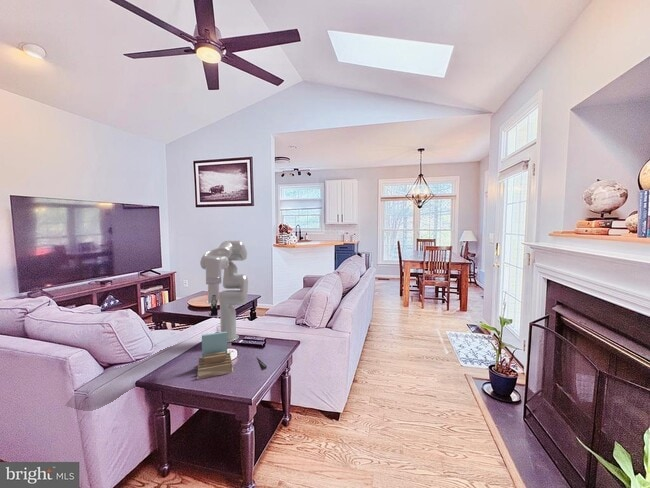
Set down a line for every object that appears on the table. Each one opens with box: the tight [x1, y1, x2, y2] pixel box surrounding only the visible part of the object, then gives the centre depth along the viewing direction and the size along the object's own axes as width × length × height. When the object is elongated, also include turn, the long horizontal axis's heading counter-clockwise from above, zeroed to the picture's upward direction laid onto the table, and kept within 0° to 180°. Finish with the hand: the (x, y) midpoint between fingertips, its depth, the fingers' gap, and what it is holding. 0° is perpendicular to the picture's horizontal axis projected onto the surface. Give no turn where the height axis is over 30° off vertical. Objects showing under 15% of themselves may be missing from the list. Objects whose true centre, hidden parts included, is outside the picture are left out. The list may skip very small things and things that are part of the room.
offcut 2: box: [204, 354, 226, 365], centre depth 137 cm, size 2×10×7 cm, turn 113°
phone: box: [256, 356, 268, 371], centre depth 145 cm, size 8×1×15 cm
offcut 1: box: [204, 351, 226, 357], centre depth 139 cm, size 2×10×7 cm, turn 113°
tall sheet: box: [201, 331, 228, 360], centre depth 142 cm, size 2×12×16 cm, turn 113°
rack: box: [196, 352, 234, 380], centre depth 138 cm, size 15×16×5 cm
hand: (214, 313), depth 145 cm, fingers open, 9 cm apart
